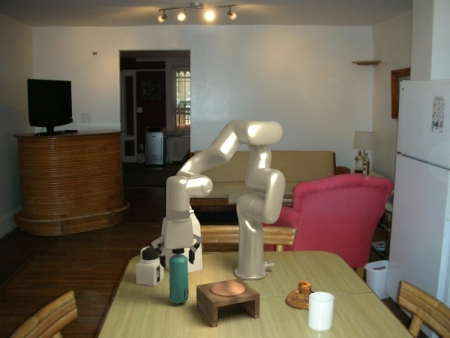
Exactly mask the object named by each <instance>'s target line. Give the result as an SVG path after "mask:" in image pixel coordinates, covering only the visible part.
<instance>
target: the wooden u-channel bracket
mask: <svg viewBox="0 0 450 338" xmlns="http://www.w3.org/2000/svg"><path fill="white" fill-rule="evenodd" d="M195 286H196V287H195V288H196V289H195V290H196V292H195V293H196V294H195V295H196V296H195V297H196V301H195V302H196V304H195V305H196V306H195V307H196V308H195V309H196V310H197V312H198V313H200V315H201V316H202V317H203V319H205V320H206V322H207V323H208V324H209V325H210V326H211V327H212V328H216V327H218V317H219V316H218V312H219V311H218V309H219V308H218V307H223V306H229V305H233V304H234V305H235V304H238V305H240V306H241V308H243V309H244V310H245V311H246V312H247V313H248V314H249V315H250V316H251V317H252V318H254V319H255V320H256V319H260V317H261V316H260V314H261V313H260V311H261V310H260V309H261V306H260V304H261V293H260V292H258V291H257V290H256V289H254V287H252V286H251V284H248V283H247V282H246V280H245V279H242V278H239V277H237V278H232V279H227V280H221V281H216V282H210V283H209V282H208V283H204V284H203V283H201V284H198V285H197V284H196V285H195Z"/></svg>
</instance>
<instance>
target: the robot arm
mask: <svg viewBox="0 0 450 338" xmlns="http://www.w3.org/2000/svg"><path fill="white" fill-rule="evenodd" d="M283 131H284V130H283V127H282V125H281V123H279V122H278V121H275V120H263V119H262V120H261V119H248V120H245V119H234V120H230V121H228V122H227V123H226V125H225V126H223V128H222V129H221V131H219V134H218V135H217V136H216V137H215V139H214V140H213V141H212V142H211V143H210V145H209V146H208V147H207V148H204V149H202V150H201V151H200V152H198V153H195V155H193V156H192V157H190V158H189V159H187V160H186V162H184V164H183V165H182V166H181V168H179V170H178V171H177V172H176V174H175V175H174V176H173V175H172V176H169V177H168V178H167V179H166V189H165V190H166V193H165V194H166V196H165V197H166V198H165V200H166V203H165V204H166V205H165V206H166V207H165V211H166V212H165V214H166V215H165V217H163V220H162V226H161V234H160V235H161V236H160V237H158V238H156V239H154V240H153V241H152V242H151V247H154V249H155V250H156V252H158V253H159V260H160V265H161V266H162V267H163V268H164V269H165V268H166V256H165V253H166V252H167V251H168V250H172V249H181V248H190V250H189V262H190V263H191V264H194V261H195V252H196V250H197V249H198V248H199V247H200V244H201V245H202V242H203V240H204V239H203V237H202V236H201V237H199V236H197V235H195V234H193V226H192V220H191V217H190V214H193V213H194V209H192V208H191V209H192V210H191V209H189V205H190V206H191V204H190V203H191V202H190V199H191V198H200V199H201V198H205V197H207V196H209V195H210V194H211V193H212V191H213V188H214V184H213V181H212V179H211V178H210V177H209V176H207V175H204V174H202V173H203V172H205V171H206V170H210V169H212V168H216V167H221V166H224V165H225V164H227V163H229V162H230V160H231V159H232V157H233V156H234V155H235V153H236V152H237V151H238V149H239V148H240V147H241V146H242V145H247V147H248V151H249V156H248V164H247V167H246V168H247V169H246V173H245V174H246V175H245V179H244V180H245V181H244V183H245V186H246V188H247V189H248V190H249V191H252V192H257V193H260V194H264V196H262V195H256V194H250V193H249V194H247V193H246V194H243V195H242V196H241V195H240V197H239V198H238V200H237V201H236V216H237V219H238V264H237V265H238V266H237V268H235V269H234V276H235V277H237V278H241V279H242V280H246V281H247V280H248V281H255V280H256V281H257V280H261V279H264V278H265V277H266V276H268V275H267V273H268V272H267V269H269V268H270V269H271V268H275V263H274V262H268V261H264V233H265V231H264V227H263V224H267V225H270V224H272V225H273V224H275V223H276V222H278V220H279V218H280V214H281V212H282V205H283V201H284V195H285V191H286V178H285V175H284V173H283V172H282V171H280V170H278V169H276V168H275V169H274V168H271V165H272V150H271V148H270V145H271V146H272V145H276V144H277V143H279V142H280V141H281V139H282V137H283V133H284V132H283ZM262 223H263V224H262ZM194 239H196V240H197V242H196V243H195V244H194V245H193V242H194ZM159 244H160V245H161V246H160V248H159V246H158V245H159Z"/></svg>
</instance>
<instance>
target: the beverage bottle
mask: <svg viewBox="0 0 450 338" xmlns="http://www.w3.org/2000/svg"><path fill="white" fill-rule="evenodd" d="M184 252H185V251H184V248H181V249H172V253H173V254H175V255H173V256H172V257H171V258H170V259H169V270H168V272H169V275H168V278H169V279H168V282H169V290H168V291H169V300H170V302H172V303H175V304H181V303H186V302H187V301H188V300H189V296H190V295H189V292H190V291H189V289H190V288H189V272H188V258H187V257H186V256H185V255H182V254H183V253H184Z"/></svg>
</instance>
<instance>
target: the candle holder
mask: <svg viewBox="0 0 450 338" xmlns="http://www.w3.org/2000/svg"><path fill="white" fill-rule="evenodd" d="M297 286H298V288H297V289H294V290H292V291H291V292H289V294H287V296H286V298H285V300H286V304H287V305H288V306H289V307H291V308H293V307H294V308H293V309H296V308H298V309H297V310H301V309H308V299H309V295H310V294H311V293H314V292H315V291H314V290H312V283H311V282H310V281H306V280H301V281H299V282H298V283H297ZM308 310H309V309H308Z"/></svg>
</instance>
